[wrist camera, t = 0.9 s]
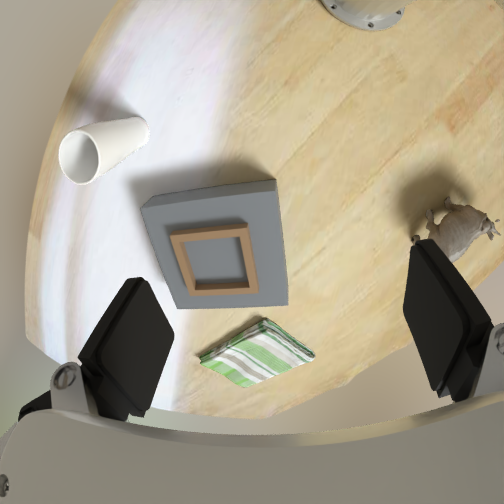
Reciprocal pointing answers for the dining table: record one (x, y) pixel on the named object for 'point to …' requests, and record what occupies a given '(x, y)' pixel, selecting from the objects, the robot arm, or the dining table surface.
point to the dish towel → (257, 354)
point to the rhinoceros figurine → (458, 229)
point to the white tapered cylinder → (100, 147)
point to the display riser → (220, 245)
